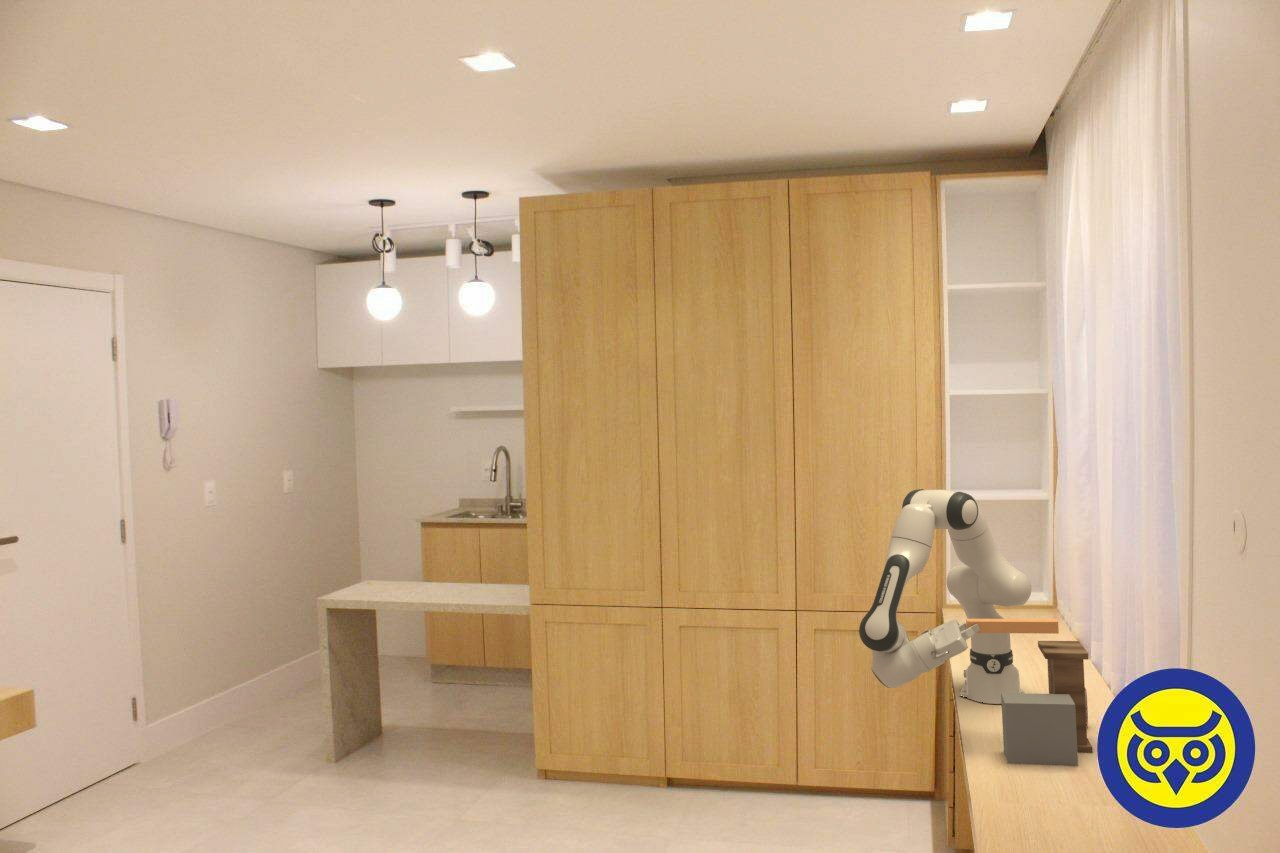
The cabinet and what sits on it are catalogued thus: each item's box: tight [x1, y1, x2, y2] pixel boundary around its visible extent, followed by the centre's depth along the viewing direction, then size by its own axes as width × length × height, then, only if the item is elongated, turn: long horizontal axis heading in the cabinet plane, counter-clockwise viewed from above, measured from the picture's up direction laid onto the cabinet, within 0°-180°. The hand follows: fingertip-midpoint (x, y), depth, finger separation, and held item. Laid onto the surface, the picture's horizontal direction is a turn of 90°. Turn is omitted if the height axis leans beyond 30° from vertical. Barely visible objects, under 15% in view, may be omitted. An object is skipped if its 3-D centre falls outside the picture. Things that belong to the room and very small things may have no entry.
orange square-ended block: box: [965, 618, 1060, 635], centre depth 250 cm, size 3×22×3 cm, turn 76°
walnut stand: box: [1037, 640, 1094, 754], centre depth 248 cm, size 12×10×25 cm
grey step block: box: [1001, 692, 1079, 767], centre depth 240 cm, size 8×16×15 cm, turn 76°
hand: (977, 624), depth 252 cm, fingers closed on orange square-ended block, 3 cm apart
